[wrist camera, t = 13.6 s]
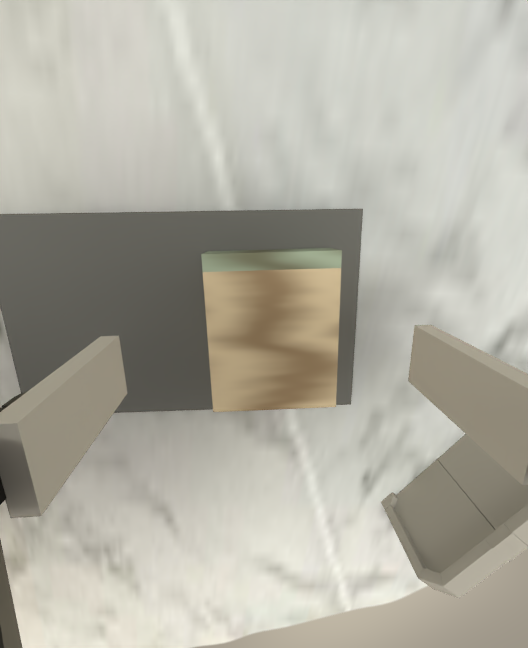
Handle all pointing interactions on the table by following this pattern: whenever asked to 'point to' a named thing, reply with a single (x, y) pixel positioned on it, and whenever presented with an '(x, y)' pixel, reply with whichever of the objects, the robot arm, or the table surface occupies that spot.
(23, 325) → the mat
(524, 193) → the table surface
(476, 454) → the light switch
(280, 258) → the tan and green block
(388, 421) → the table surface
